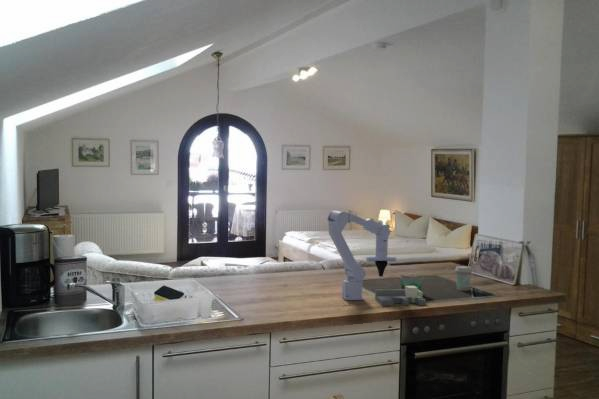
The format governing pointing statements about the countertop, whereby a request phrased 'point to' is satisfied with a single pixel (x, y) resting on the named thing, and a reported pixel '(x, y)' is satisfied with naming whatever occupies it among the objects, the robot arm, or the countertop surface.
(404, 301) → the trap board
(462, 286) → the coffee cup
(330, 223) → the robot arm
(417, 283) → the food container
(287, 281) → the countertop surface
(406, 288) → the cream block
